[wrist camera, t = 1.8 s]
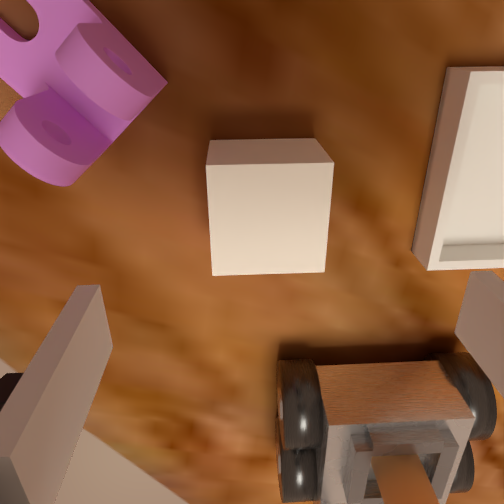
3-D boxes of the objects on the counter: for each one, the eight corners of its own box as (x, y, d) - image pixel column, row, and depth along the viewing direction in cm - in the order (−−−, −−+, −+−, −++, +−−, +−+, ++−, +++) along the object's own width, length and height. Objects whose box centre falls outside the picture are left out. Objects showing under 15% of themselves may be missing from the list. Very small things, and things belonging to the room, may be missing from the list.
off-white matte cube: (209, 139, 24) (205, 165, 19) (314, 137, 24) (334, 162, 19) (215, 234, 26) (212, 275, 22) (308, 231, 27) (324, 272, 22)
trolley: (275, 343, 31) (313, 602, 17) (461, 335, 31) (647, 580, 17) (273, 449, 36) (300, 707, 23) (431, 440, 37) (552, 688, 23)
